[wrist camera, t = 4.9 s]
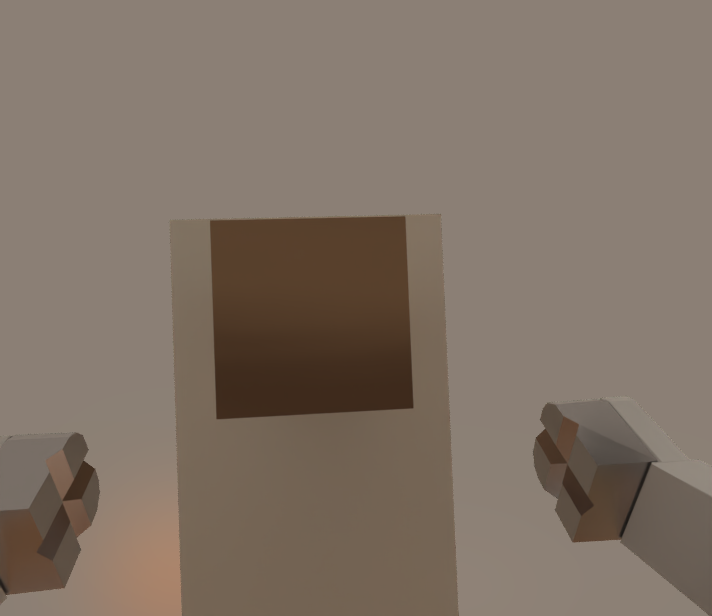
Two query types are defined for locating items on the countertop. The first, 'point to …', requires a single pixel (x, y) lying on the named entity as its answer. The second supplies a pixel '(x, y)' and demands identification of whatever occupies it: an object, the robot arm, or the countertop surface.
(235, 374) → the walnut bar
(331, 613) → the tall cream pillar
